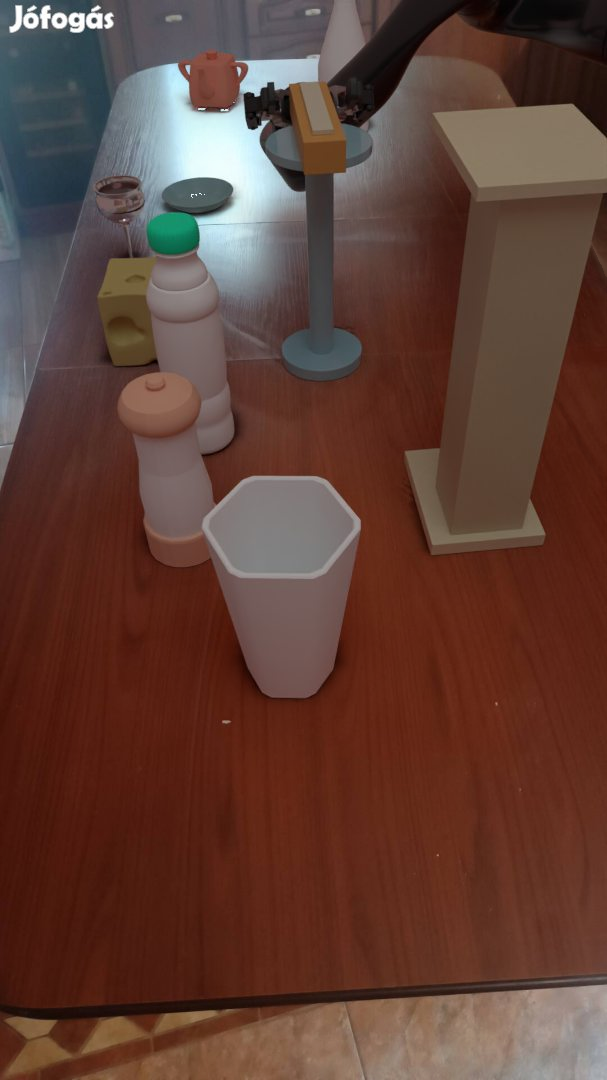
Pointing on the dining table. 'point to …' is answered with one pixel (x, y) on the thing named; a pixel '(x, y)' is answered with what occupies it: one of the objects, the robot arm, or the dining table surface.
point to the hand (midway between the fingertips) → (313, 90)
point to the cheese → (127, 311)
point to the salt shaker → (169, 465)
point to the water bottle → (189, 323)
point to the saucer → (182, 190)
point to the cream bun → (317, 129)
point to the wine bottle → (341, 41)
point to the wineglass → (120, 201)
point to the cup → (285, 576)
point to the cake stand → (320, 265)
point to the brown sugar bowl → (213, 79)
